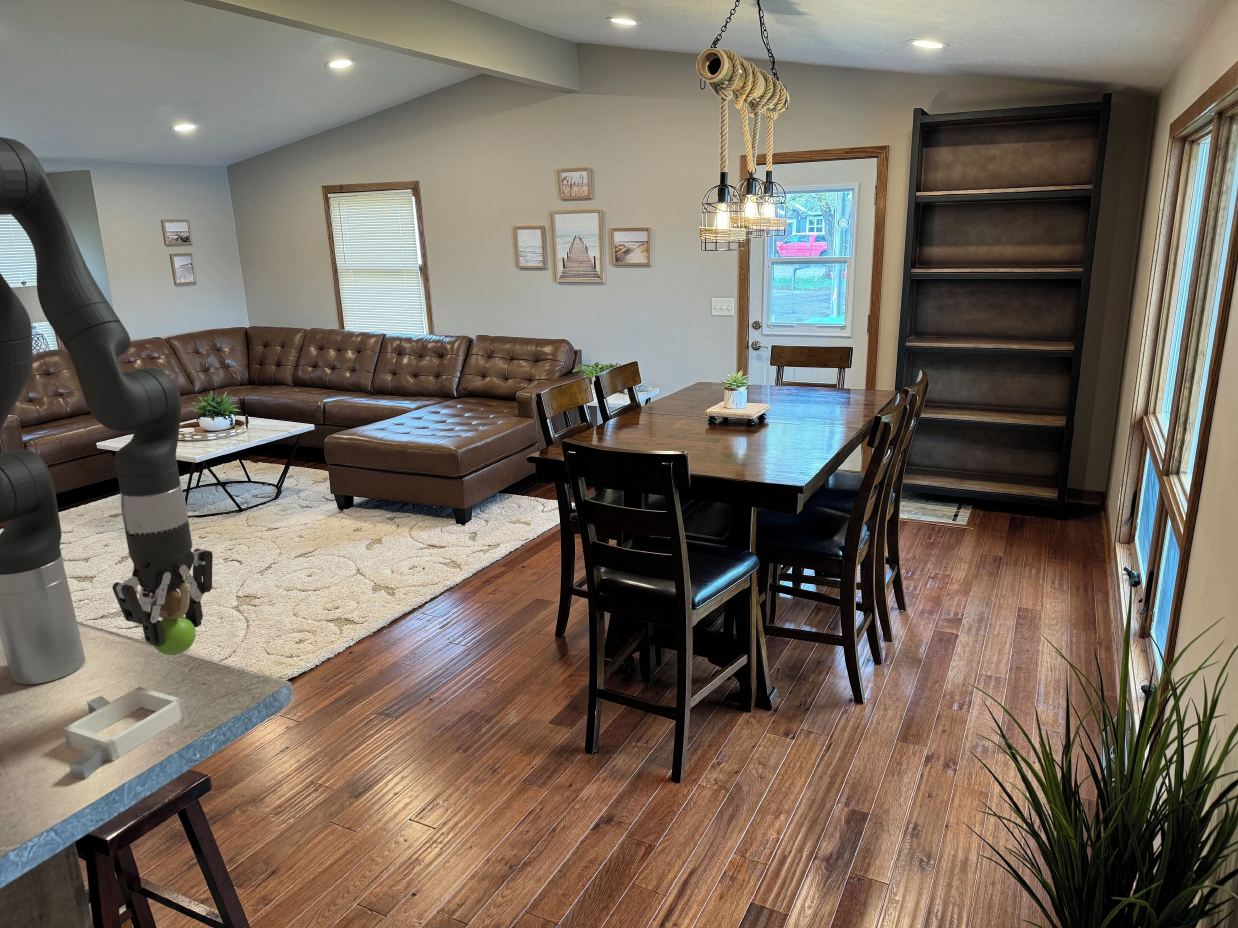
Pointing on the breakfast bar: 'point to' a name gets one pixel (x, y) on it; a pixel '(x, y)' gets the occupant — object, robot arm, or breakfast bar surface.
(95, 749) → the white rectangular frame piece
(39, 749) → the breakfast bar surface
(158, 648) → the snail figurine
